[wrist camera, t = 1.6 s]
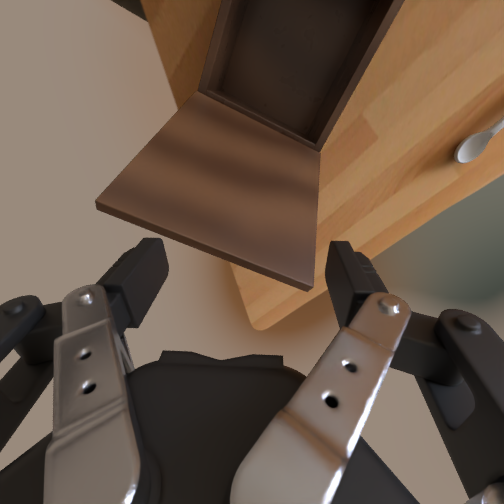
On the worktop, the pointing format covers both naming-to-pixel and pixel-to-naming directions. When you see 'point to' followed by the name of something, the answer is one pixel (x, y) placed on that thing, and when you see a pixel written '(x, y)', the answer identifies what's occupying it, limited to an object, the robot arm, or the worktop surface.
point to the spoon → (476, 143)
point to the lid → (225, 191)
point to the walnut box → (293, 60)
